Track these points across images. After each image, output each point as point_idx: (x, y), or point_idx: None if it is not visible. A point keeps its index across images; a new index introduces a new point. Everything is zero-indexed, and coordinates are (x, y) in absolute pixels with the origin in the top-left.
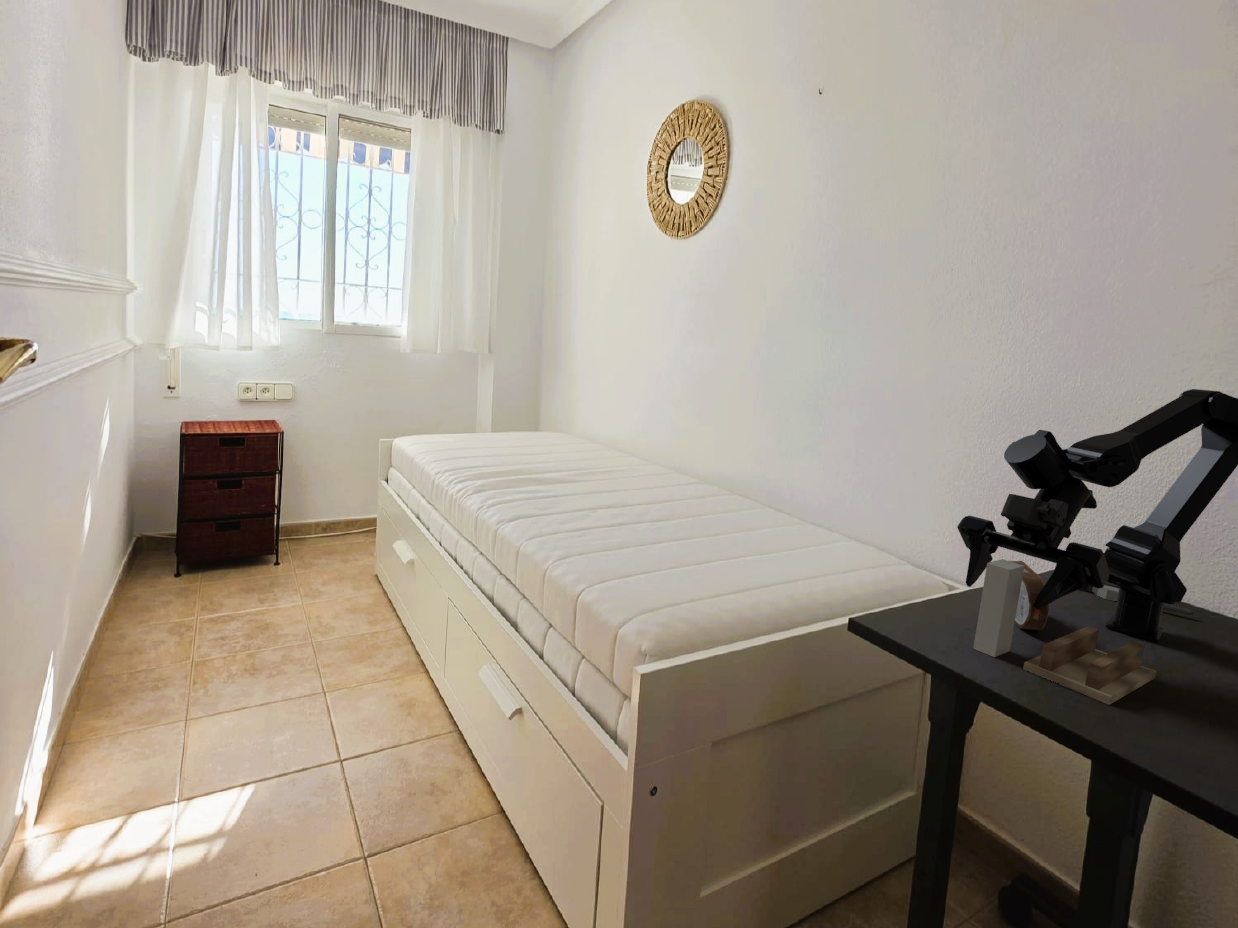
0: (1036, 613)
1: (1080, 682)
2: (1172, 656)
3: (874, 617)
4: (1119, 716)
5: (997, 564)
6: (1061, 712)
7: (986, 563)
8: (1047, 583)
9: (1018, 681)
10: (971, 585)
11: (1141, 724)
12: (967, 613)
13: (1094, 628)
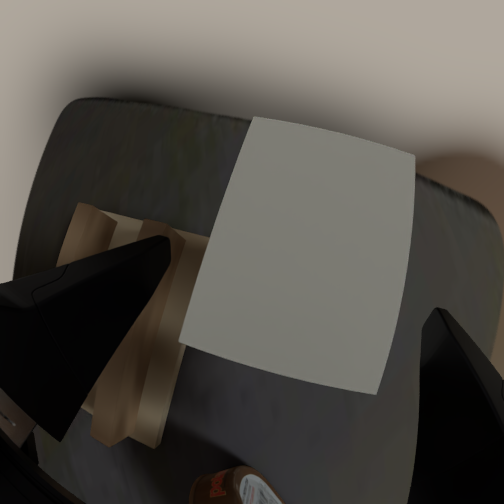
0: (219, 476)
1: (123, 226)
2: (62, 479)
3: (499, 270)
4: (93, 187)
5: (359, 177)
6: (156, 134)
7: (421, 486)
8: (84, 275)
9: (216, 181)
10: (422, 336)
11: (76, 188)
12: (377, 474)
13: (97, 439)
